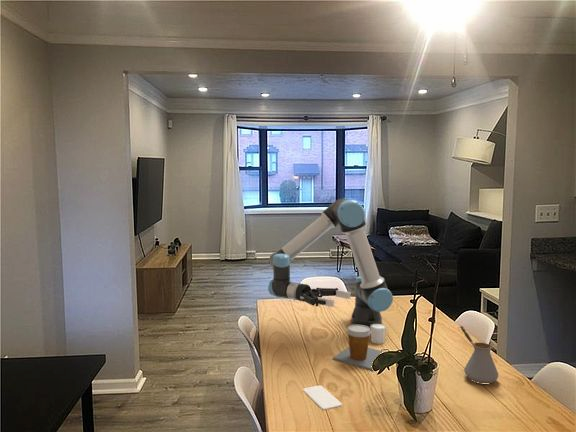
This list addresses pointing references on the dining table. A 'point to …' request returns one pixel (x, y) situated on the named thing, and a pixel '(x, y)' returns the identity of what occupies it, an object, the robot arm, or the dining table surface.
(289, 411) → the dining table surface
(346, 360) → the grey rubber mat
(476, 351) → the coffee pot
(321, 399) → the smartphone
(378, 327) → the white candle
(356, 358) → the disposable coffee cup
